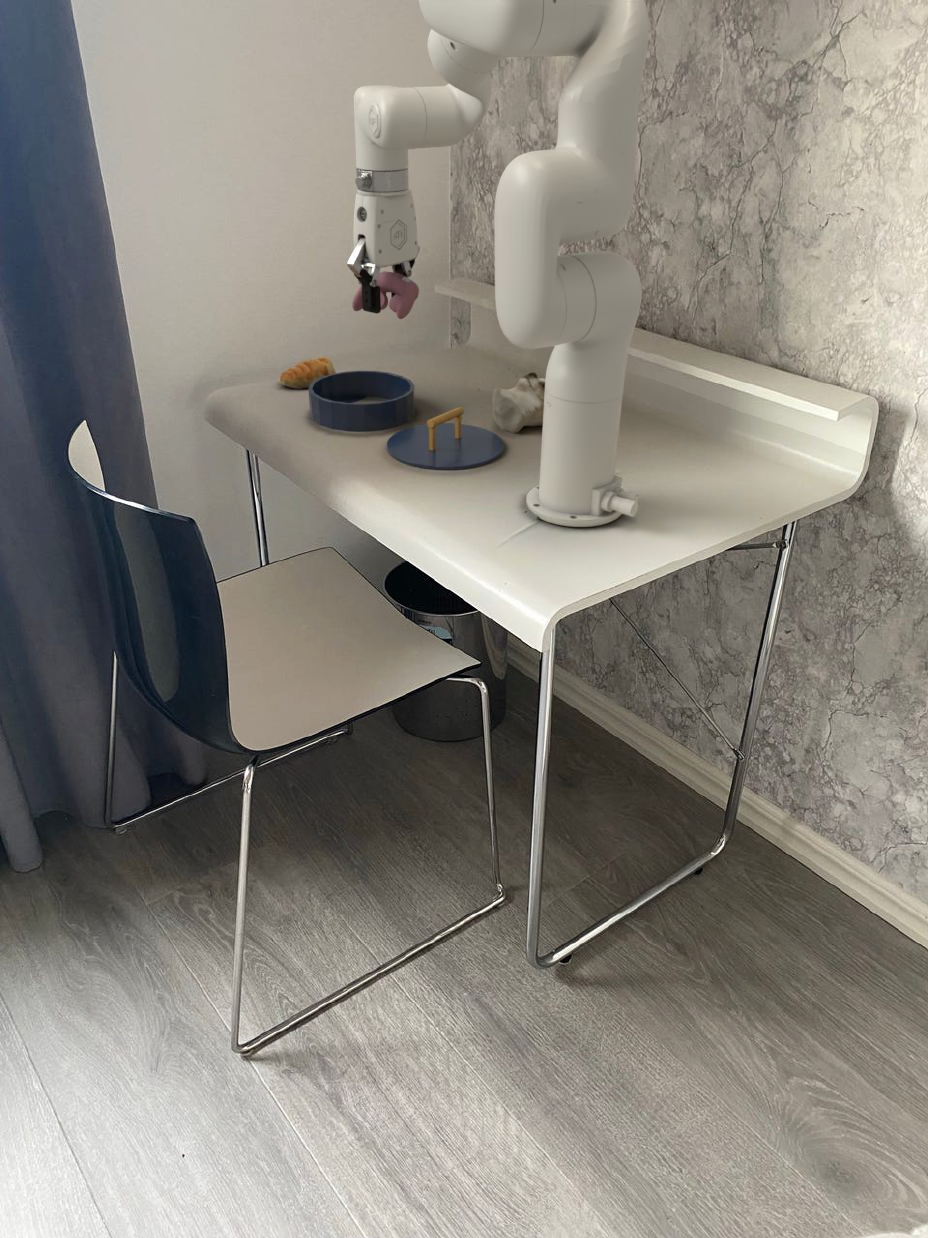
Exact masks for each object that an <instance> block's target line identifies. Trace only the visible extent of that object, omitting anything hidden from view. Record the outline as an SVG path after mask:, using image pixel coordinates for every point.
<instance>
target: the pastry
mask: <svg viewBox="0 0 928 1238" xmlns="http://www.w3.org/2000/svg"><path fill="white" fill-rule="evenodd" d="M335 373H337V372H336V369H335V367H334V366H333V363H332V361H331V360H330V359H329V358H328V357H326V356H325V357H318V358H317V359H307V360H302V361H300V362H298V363H297V364H296V365H295V366H291V367H289V368H287V370H285V371H283V372H281V374H280V381H279V383H280V384H281V385H283V386H286V387H288V388H291V389H292V388H293V389H295V390H296V389H298V390H302V389H309V387H310V385H311V383H312V382H314V381H315V380H317V379H318V378H321V377H324V376H327V375H330V374H335Z"/></svg>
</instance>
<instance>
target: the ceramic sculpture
mask: <svg viewBox="0 0 928 1238" xmlns="http://www.w3.org/2000/svg"><path fill="white" fill-rule="evenodd" d="M544 394H545V378H544V377H538V375H537V373H536V372H529V373H527V374H525V375H522V376H521V377H520V378H519V380H518V381H517V383H516V385H515V386H514V387H512V388H509V389H506V388H502V387H501V388H499V387H495V388H494V390H493V393H492V416H493V419H494V421H495V424H496V425H497V426H498V427H499V429H500V430H501V431H505V432H509V433H511V434H517V433H519V431H521V430H522V429H523V427H541V426H542V427H543V412H544Z"/></svg>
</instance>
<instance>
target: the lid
mask: <svg viewBox="0 0 928 1238" xmlns="http://www.w3.org/2000/svg"><path fill="white" fill-rule="evenodd" d="M464 411H465V410H464V408H463V407H461V406H458V407H456V408H454V409H451V410H449V411H447V412H444V413H442V414H439V415H437V416H435V417H432V418H430V419H428V420H427V421H426V423H425V424H420V425H414V426H411V427H408V428H404V429H401V430H399V431H397V432H395V433H394V434H392V436H390V437H389V438H388V440H387V442H386V451H387V452H388V454H389V455H390V456H391V457H392V458H393V459H395V460H396V461H398V462H400V463H402V464H406V465H409V466H411V467H416V468H420V469H428V470H439V471H454V470H457V471H458V470H465V469H472V468H477V467H481V466H484V465H487V464H489V463H493V462H494V461H495V460H497V459H499V457H501V455H503V454H504V450H505V444H504V441H503V439H502V437H500V436H499V435H498V434H496V433H494V432H493V431H490V430H489V429H486V428H482V427H479V426H475V425H470V424H463V423H462V419H463V418H462V416H463V415H464ZM451 420H454V423H451V422H450V421H451Z"/></svg>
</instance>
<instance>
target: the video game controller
mask: <svg viewBox="0 0 928 1238" xmlns="http://www.w3.org/2000/svg"><path fill="white" fill-rule="evenodd" d="M369 274H370V275H371V272H370V273H369ZM376 286H380V300H381V311H384V310H386V308H387V307H388V308H389V309H390V310H391V311H392V312H393V313H395V314H396V316H397V319H399V320H403V319H405V318H406V317H407V316H408V315H409V314H410V312H411V311H412V308H413V306H414V304H415V301H416V300H417V299H418V298H419V294H420V288H419V286H418V284H417V283H416V282H415V281H413V280H412V279H410V277H406V276H404V275H401V274H399V273H394V272H393V271H386V270H385V271H382V272H379V277H378V281H377V285H376ZM387 293H390V294H391V293H395V295H394V296H393V297H392V298H391V297H390V299H389V298H388V296H387ZM351 305H352V310H353V311H354V312H359V311H361V310H363V307H362V285H361V284H360V286H359V288H358V289H357V291H356V293H355V294H354V296H353V298H352V302H351Z"/></svg>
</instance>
